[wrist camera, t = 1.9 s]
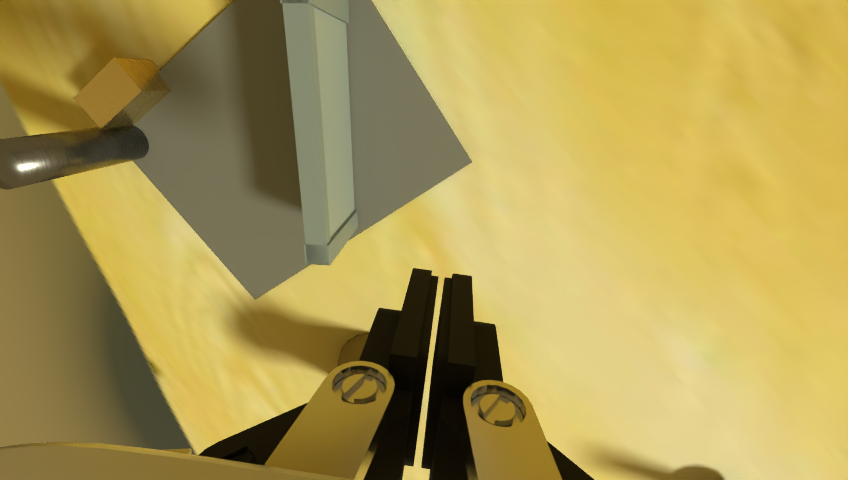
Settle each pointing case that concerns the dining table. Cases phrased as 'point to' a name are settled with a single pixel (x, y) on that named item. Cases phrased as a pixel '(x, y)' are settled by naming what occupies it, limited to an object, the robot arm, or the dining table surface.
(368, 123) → the mat
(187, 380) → the dining table surface
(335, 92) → the gate
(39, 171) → the stile
